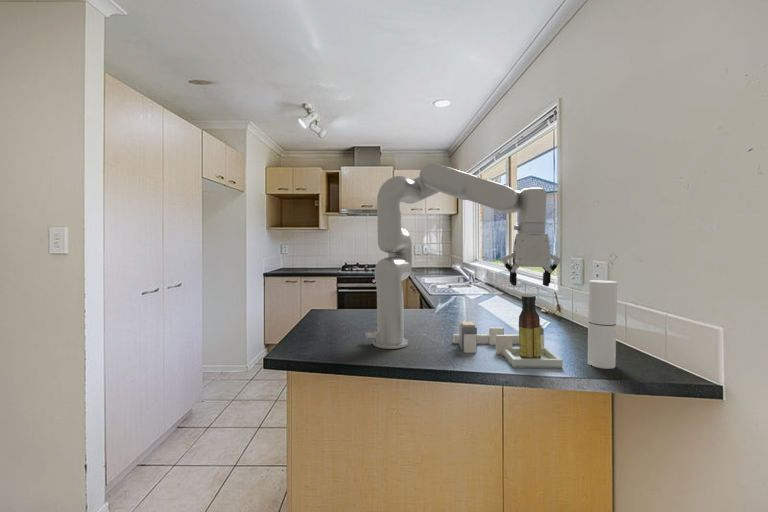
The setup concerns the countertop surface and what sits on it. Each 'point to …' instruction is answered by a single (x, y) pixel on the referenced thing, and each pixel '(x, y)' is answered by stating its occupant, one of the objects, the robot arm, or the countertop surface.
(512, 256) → the robot arm
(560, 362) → the tray
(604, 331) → the cylindrical container
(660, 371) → the countertop surface
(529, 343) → the sauce bottle
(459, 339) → the clip rack
